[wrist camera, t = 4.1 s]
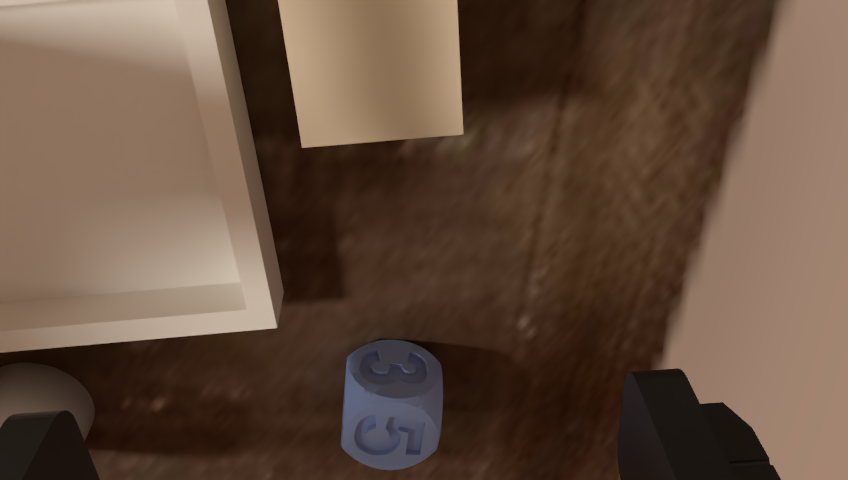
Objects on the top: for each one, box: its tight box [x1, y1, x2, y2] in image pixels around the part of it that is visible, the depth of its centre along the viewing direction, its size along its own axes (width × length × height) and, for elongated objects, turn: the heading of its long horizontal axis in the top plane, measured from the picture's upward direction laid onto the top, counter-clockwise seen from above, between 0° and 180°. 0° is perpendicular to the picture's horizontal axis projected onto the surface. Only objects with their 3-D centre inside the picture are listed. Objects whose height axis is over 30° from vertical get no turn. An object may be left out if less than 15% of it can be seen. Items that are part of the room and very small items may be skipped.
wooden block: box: [278, 0, 463, 148], centre depth 25 cm, size 5×5×5 cm
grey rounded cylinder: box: [0, 362, 95, 441], centre depth 32 cm, size 5×5×7 cm
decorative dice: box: [341, 340, 443, 470], centre depth 33 cm, size 4×4×4 cm
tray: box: [0, 0, 284, 353], centre depth 28 cm, size 14×14×2 cm
